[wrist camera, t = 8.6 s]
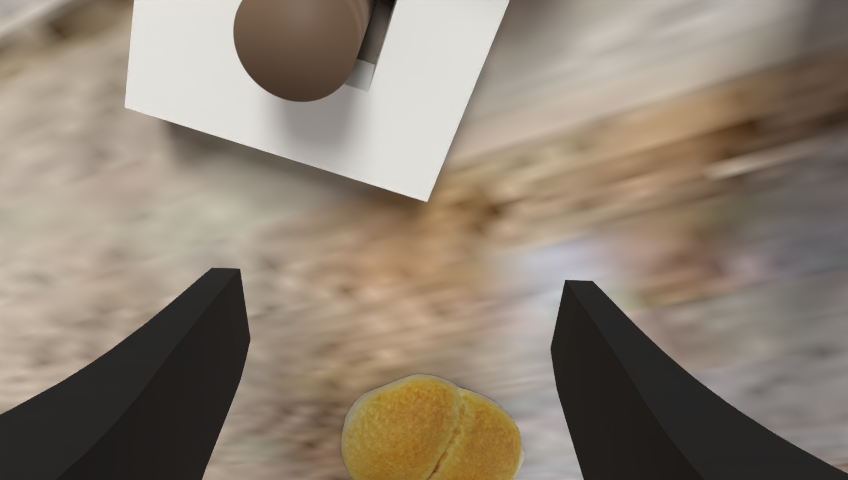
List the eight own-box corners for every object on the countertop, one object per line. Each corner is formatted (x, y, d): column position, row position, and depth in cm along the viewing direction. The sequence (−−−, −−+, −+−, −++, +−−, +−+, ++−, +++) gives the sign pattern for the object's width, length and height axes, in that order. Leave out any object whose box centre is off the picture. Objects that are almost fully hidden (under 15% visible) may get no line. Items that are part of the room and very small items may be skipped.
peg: (393, -23, 19) (380, 26, 13) (348, 49, 20) (318, 124, 14) (318, -78, 18) (268, -53, 12) (275, 0, 20) (212, 57, 14)
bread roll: (385, 345, 28) (380, 411, 25) (540, 407, 30) (556, 475, 27) (316, 446, 32) (304, 515, 29) (459, 495, 34) (464, 563, 31)
